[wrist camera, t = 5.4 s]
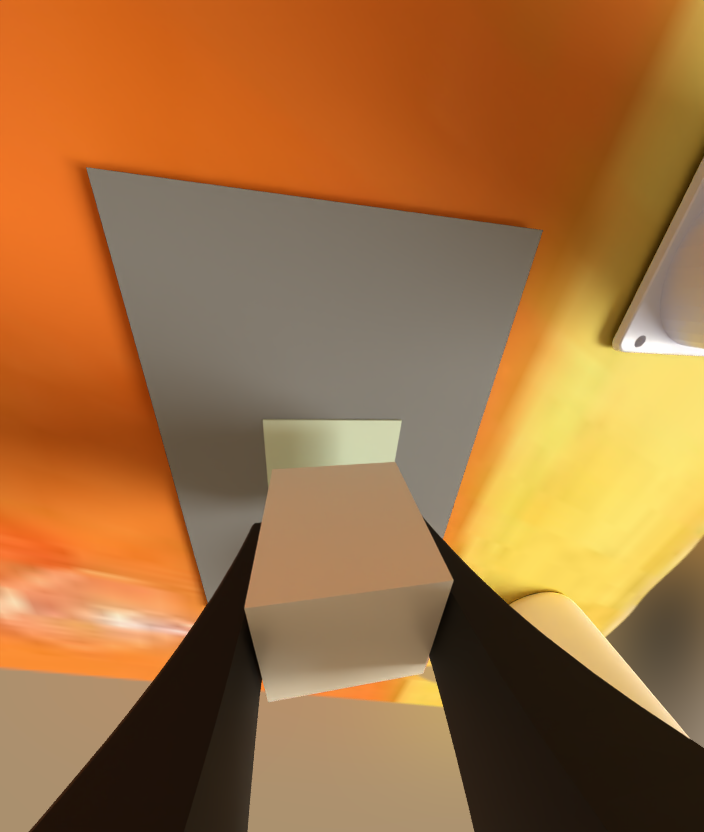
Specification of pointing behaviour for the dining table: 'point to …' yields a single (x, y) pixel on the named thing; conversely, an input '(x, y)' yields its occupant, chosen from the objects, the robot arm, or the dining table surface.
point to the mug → (587, 646)
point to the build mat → (306, 340)
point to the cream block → (343, 581)
